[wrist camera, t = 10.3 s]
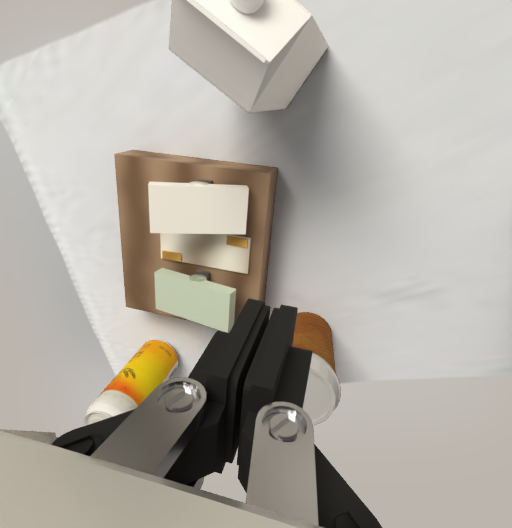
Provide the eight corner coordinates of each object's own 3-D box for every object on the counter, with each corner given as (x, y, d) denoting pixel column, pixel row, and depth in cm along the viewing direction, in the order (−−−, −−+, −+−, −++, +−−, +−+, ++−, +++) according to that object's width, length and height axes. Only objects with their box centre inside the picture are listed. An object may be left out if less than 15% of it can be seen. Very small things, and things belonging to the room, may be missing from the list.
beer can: (148, 330, 57) (83, 401, 43) (184, 347, 56) (130, 424, 43) (141, 359, 59) (78, 434, 46) (175, 375, 59) (122, 456, 45)
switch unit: (277, 167, 42) (268, 175, 38) (262, 318, 51) (253, 337, 46) (133, 149, 46) (110, 154, 42) (141, 293, 54) (123, 309, 50)
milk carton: (285, 109, 40) (231, 116, 23) (232, 66, 39) (138, 41, 23) (329, 45, 37) (304, -2, 20) (271, -2, 36) (196, -92, 19)
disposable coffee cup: (327, 291, 47) (318, 348, 36) (355, 353, 49) (354, 422, 39) (260, 312, 50) (234, 369, 40) (290, 368, 53) (272, 436, 42)
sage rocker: (240, 285, 43) (230, 294, 41) (237, 322, 45) (227, 333, 43) (167, 264, 46) (154, 272, 44) (168, 300, 48) (155, 308, 46)
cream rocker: (245, 183, 41) (248, 188, 39) (242, 226, 43) (245, 234, 41) (150, 179, 39) (148, 184, 37) (152, 225, 41) (150, 233, 39)
